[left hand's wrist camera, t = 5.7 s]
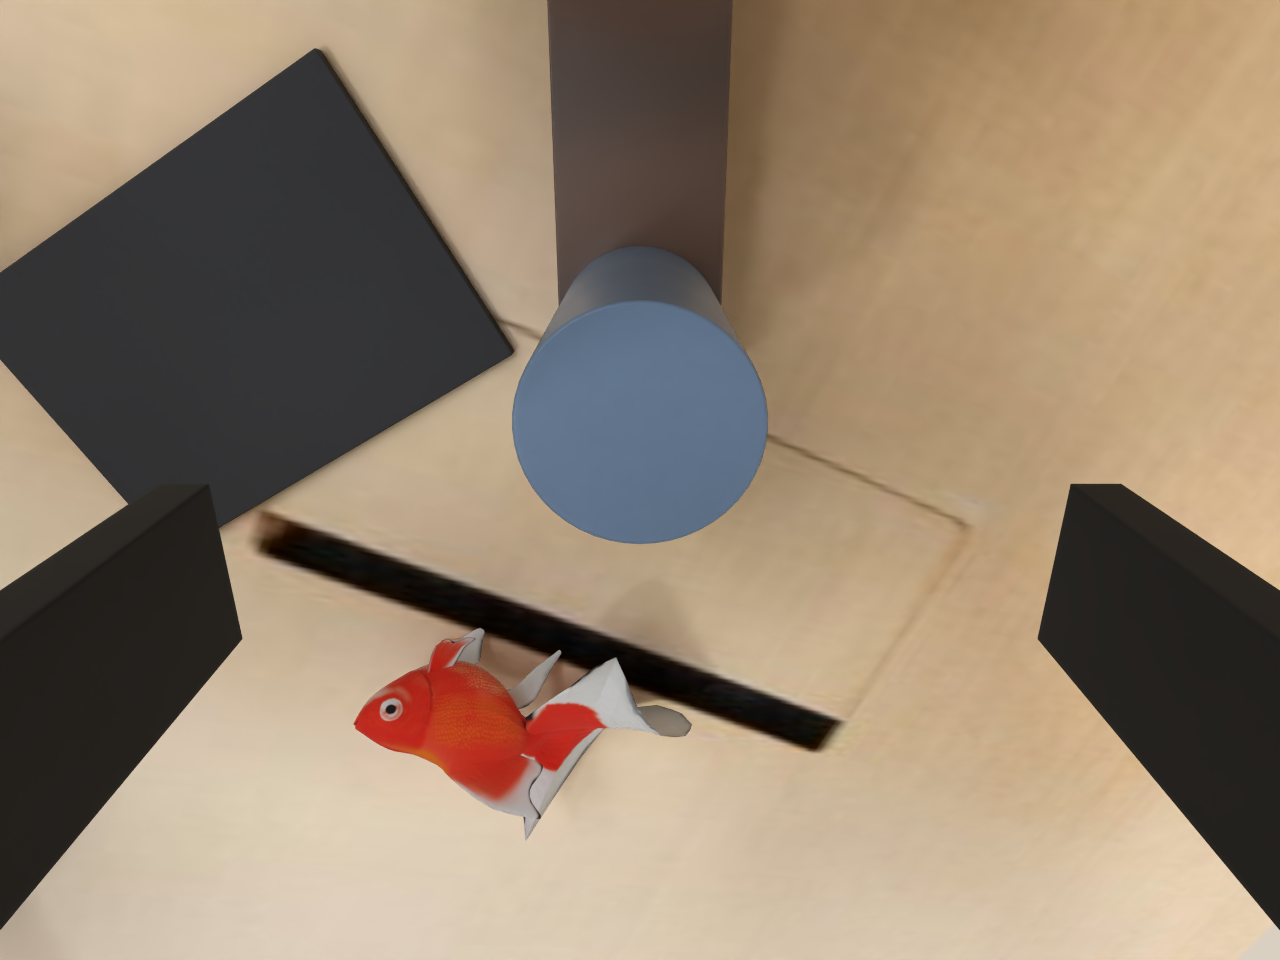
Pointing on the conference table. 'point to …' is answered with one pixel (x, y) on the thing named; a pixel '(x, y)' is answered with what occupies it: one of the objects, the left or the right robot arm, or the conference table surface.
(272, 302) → the mat
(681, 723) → the fish
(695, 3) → the brown rectangular block
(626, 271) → the slate blue cylinder
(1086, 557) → the left robot arm
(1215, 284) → the conference table surface
